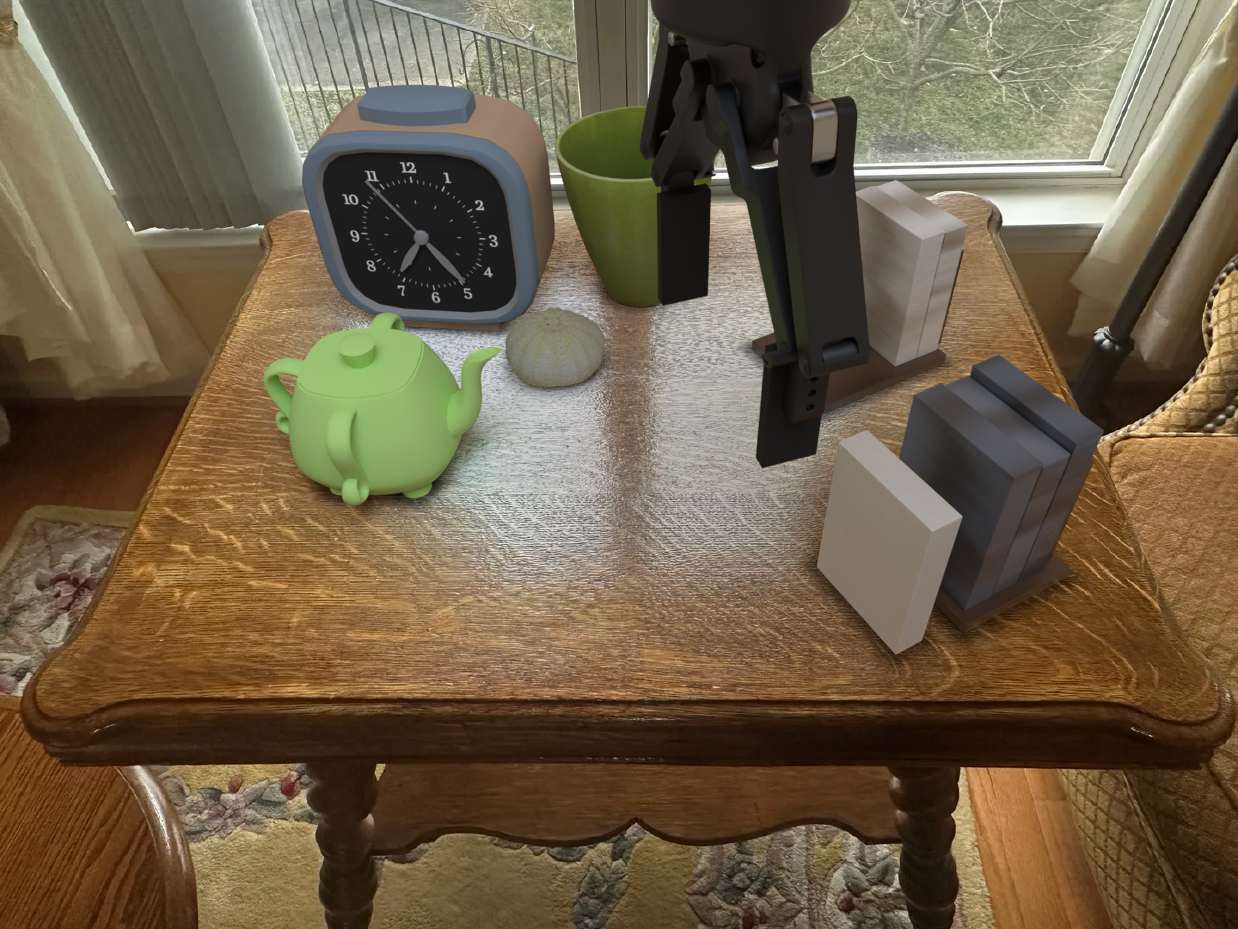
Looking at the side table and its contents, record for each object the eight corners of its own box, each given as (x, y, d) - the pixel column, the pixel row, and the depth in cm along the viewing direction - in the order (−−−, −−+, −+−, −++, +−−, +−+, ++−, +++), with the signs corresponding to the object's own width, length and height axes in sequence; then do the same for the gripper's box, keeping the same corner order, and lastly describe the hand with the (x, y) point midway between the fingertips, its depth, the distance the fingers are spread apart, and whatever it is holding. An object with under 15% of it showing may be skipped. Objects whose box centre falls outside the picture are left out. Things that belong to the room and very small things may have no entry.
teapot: (445, 378, 88) (420, 262, 79) (520, 464, 80) (501, 344, 71) (279, 449, 82) (232, 331, 73) (341, 550, 74) (296, 430, 65)
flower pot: (557, 327, 93) (541, 178, 82) (579, 246, 104) (568, 103, 92) (708, 333, 91) (714, 181, 80) (715, 249, 102) (721, 105, 91)
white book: (922, 640, 66) (963, 516, 56) (895, 655, 65) (932, 531, 56) (841, 554, 71) (867, 428, 62) (816, 567, 71) (837, 441, 61)
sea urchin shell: (600, 385, 83) (533, 327, 80) (546, 424, 88) (481, 370, 85) (624, 324, 90) (562, 268, 87) (572, 363, 95) (512, 312, 92)
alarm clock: (341, 328, 94) (278, 120, 79) (372, 275, 101) (319, 73, 86) (542, 340, 92) (516, 127, 76) (560, 284, 98) (540, 78, 83)
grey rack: (1067, 578, 69) (1138, 429, 59) (963, 634, 66) (1018, 488, 55) (961, 484, 76) (1007, 337, 66) (862, 531, 73) (895, 385, 62)
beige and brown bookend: (949, 361, 87) (986, 224, 77) (821, 415, 83) (842, 277, 73) (872, 301, 94) (897, 170, 84) (751, 348, 90) (761, 215, 80)
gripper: (560, -162, 41) (590, 258, 56) (816, 39, 24) (760, 567, 39) (720, -181, 42) (708, 234, 57) (1070, -4, 25) (922, 522, 40)
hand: (729, 369), depth 48 cm, fingers open, 13 cm apart
